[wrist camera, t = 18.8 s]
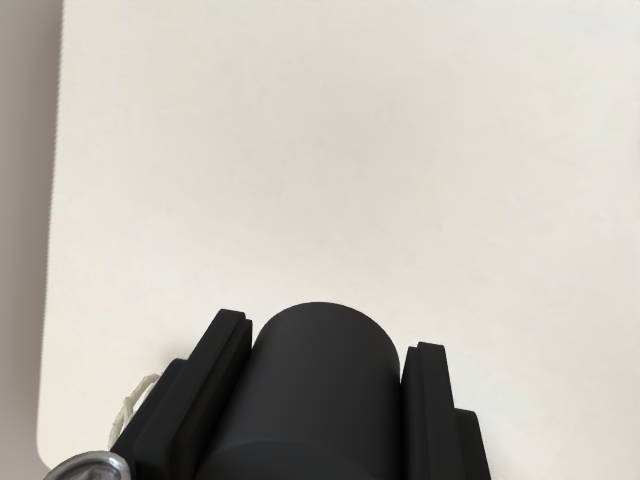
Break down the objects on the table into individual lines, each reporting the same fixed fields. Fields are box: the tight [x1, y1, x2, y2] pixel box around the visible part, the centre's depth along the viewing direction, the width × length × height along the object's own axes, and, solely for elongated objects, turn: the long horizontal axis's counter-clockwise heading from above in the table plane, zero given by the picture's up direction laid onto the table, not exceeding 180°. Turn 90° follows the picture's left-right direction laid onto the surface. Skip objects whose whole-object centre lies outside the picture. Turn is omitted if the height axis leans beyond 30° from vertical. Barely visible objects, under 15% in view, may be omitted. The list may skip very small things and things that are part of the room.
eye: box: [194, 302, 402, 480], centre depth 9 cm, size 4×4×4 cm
